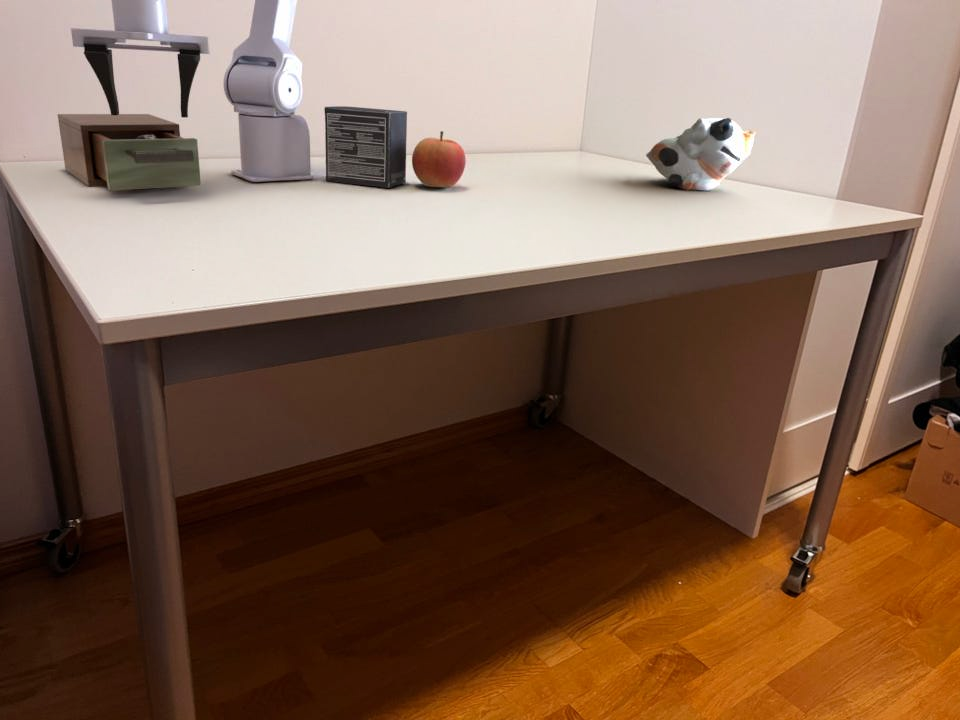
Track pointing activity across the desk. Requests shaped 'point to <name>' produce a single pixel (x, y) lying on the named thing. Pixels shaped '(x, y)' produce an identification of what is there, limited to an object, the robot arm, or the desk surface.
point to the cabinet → (79, 125)
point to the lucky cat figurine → (702, 153)
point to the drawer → (144, 159)
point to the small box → (365, 146)
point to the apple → (438, 162)
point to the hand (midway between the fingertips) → (150, 115)
